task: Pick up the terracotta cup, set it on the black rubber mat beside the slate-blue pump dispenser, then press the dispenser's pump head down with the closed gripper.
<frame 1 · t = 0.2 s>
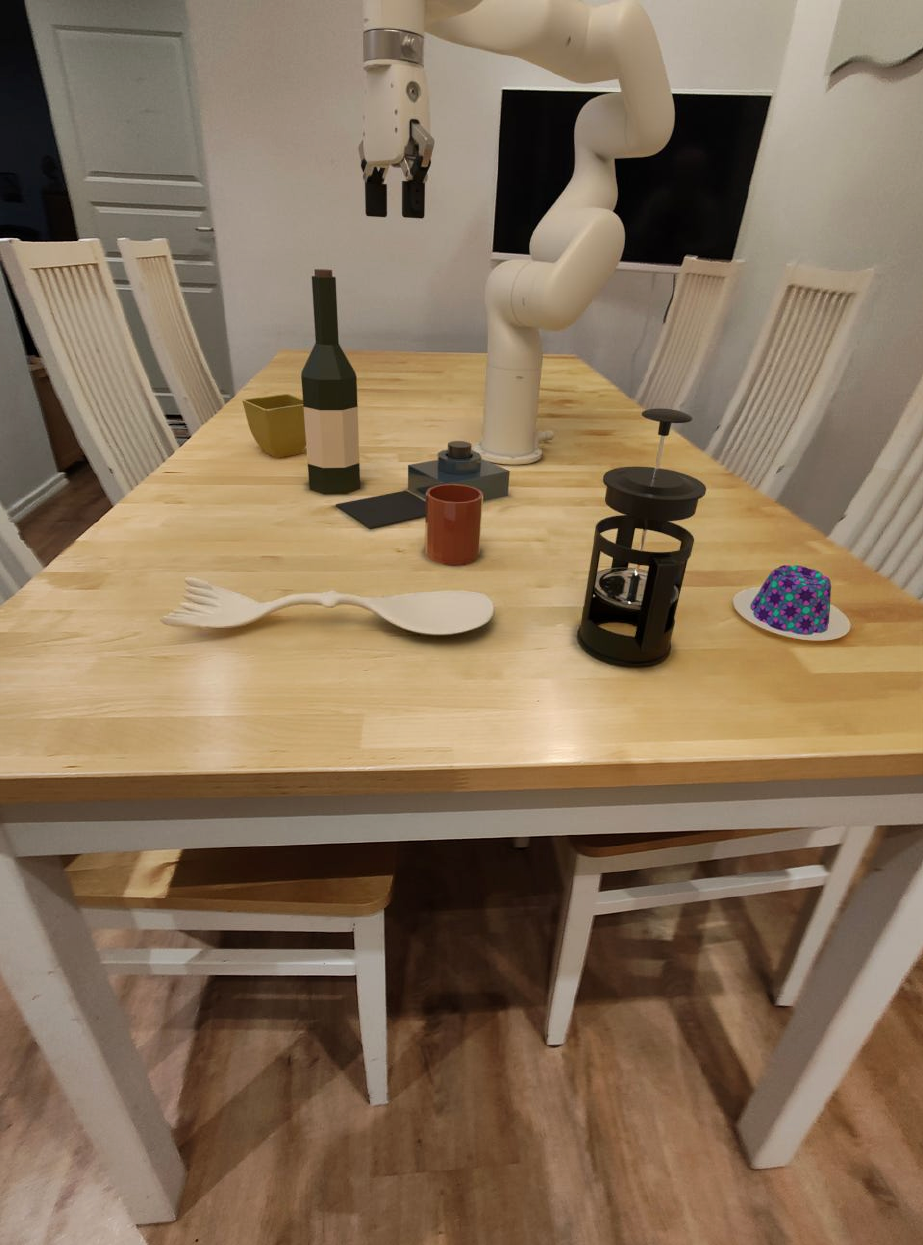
hand: (394, 217, 92), 37 cm above the table, tool pointing down, fingers open, 9 cm apart
purple patterned hat: (787, 619, 75), on the table
french press: (624, 646, 68), on the table
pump: (459, 450, 102), point 7 cm above the table, slide at 0.1 cm
cup: (452, 553, 85), on the table
dispenser: (457, 493, 105), on the table
spoon: (338, 625, 69), on the table
mat: (389, 510, 98), on the table
wine bottle: (334, 487, 106), on the table
flower pot: (282, 454, 119), on the table
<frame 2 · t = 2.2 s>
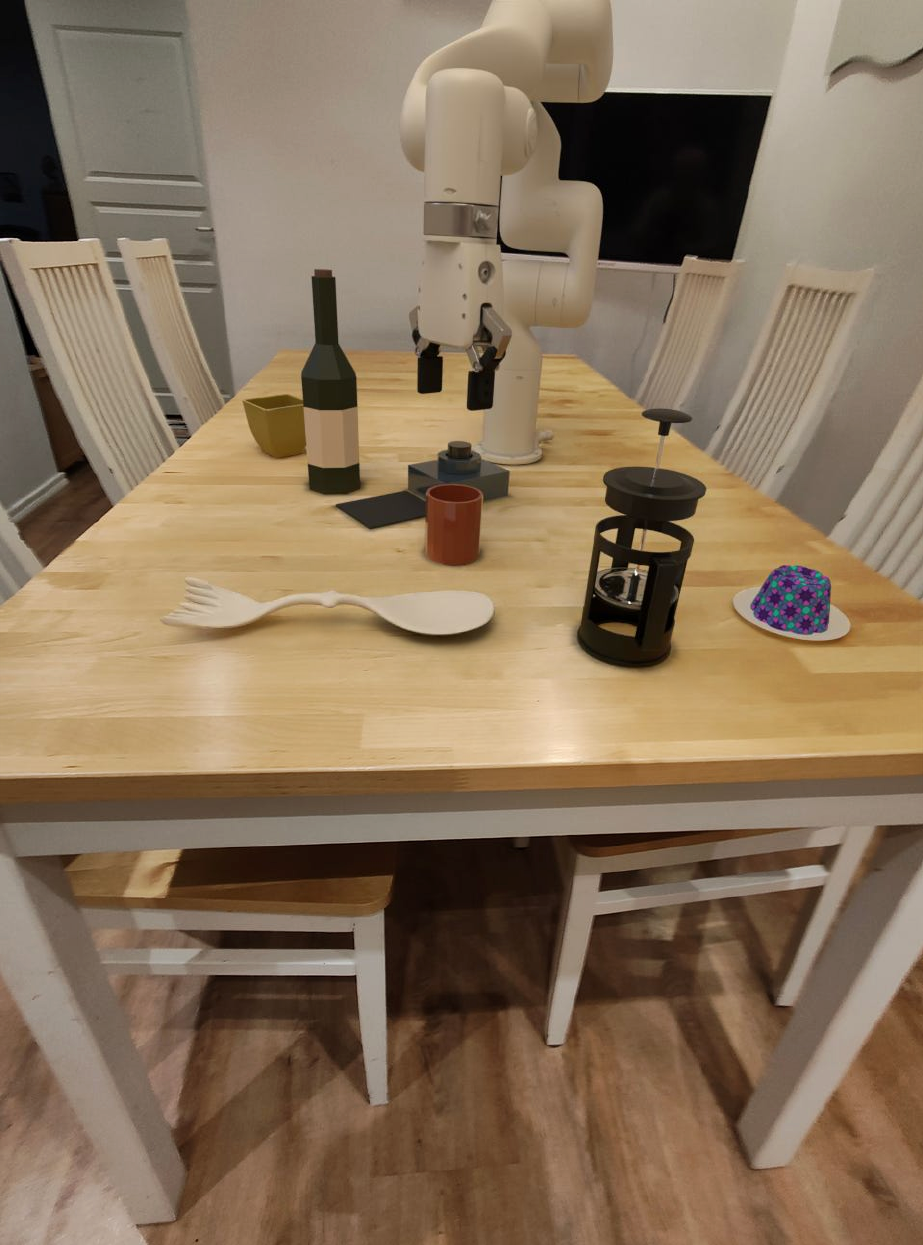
hand: (453, 400, 77), 19 cm above the table, tool pointing down, fingers open, 9 cm apart
nothing on the table moved.
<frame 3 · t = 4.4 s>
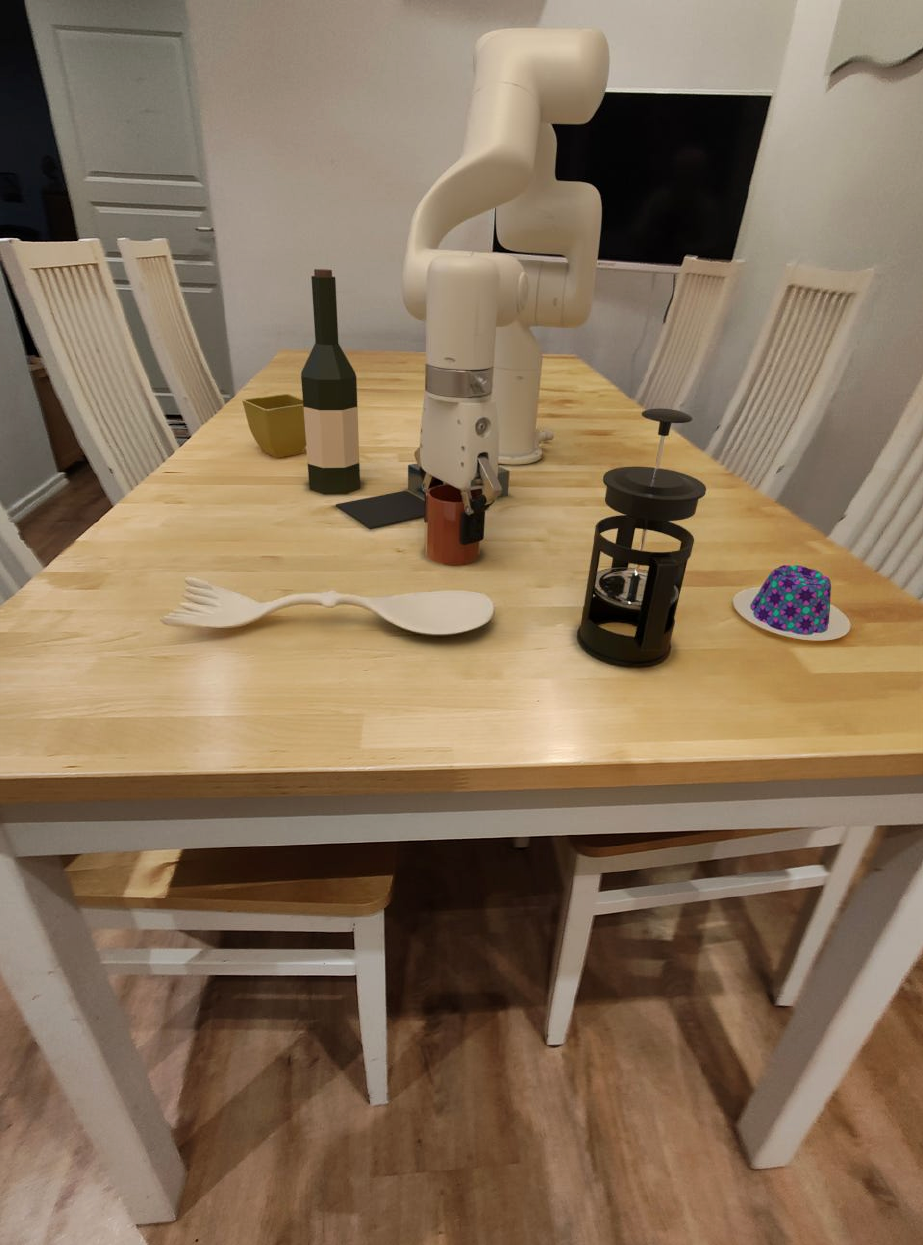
hand: (453, 530, 84), 3 cm above the table, tool pointing down, fingers closed on cup, 6 cm apart
cup: (452, 553, 85), on the table, touching gripper
everything else where it was.
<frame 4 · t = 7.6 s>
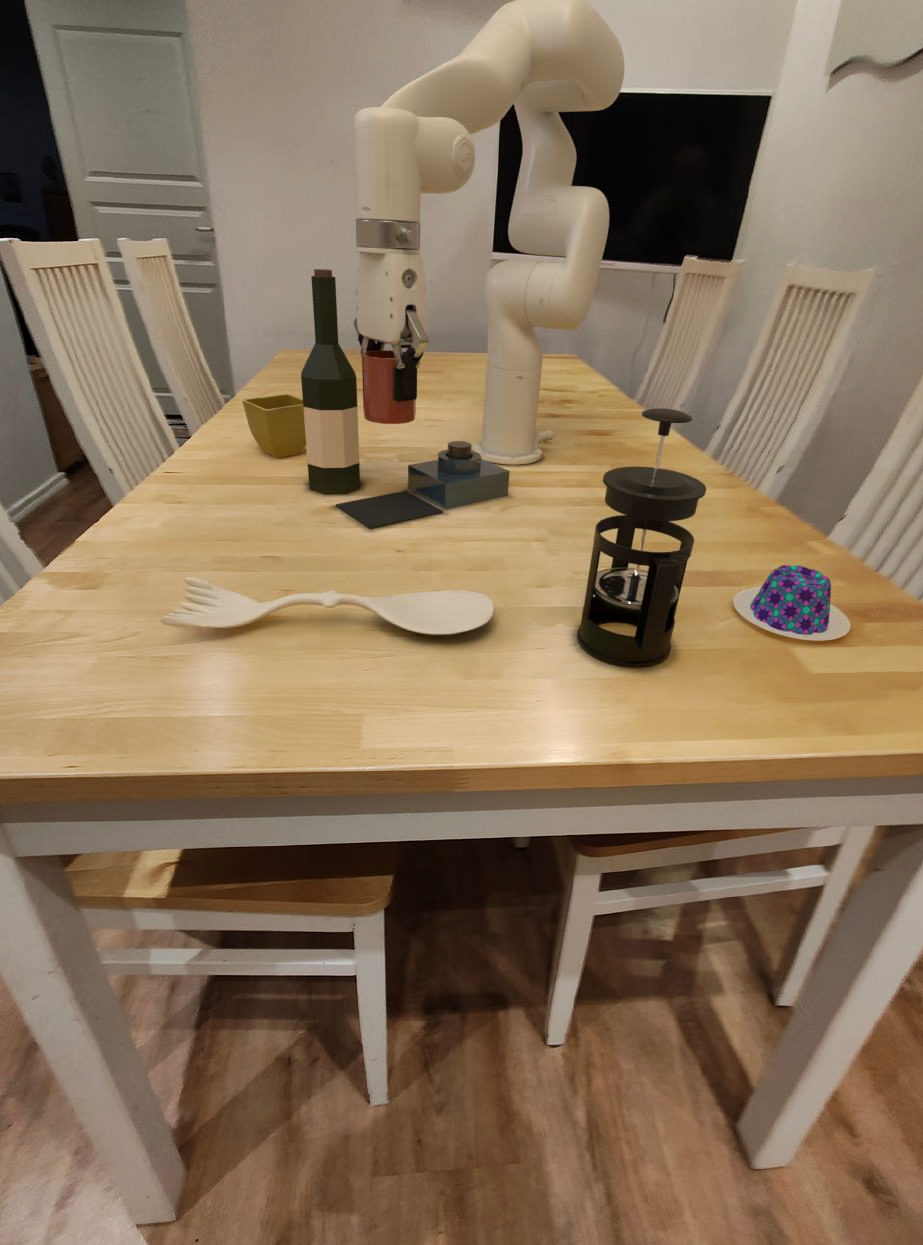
hand: (389, 393, 89), 16 cm above the table, tool pointing down, fingers closed on cup, 6 cm apart
cup: (389, 417, 90), point 13 cm above the table, touching gripper
everything else where it was.
when the fingers open (4 cm above the table, at t = 11.0 s): cup stays where it is, resting on mat.
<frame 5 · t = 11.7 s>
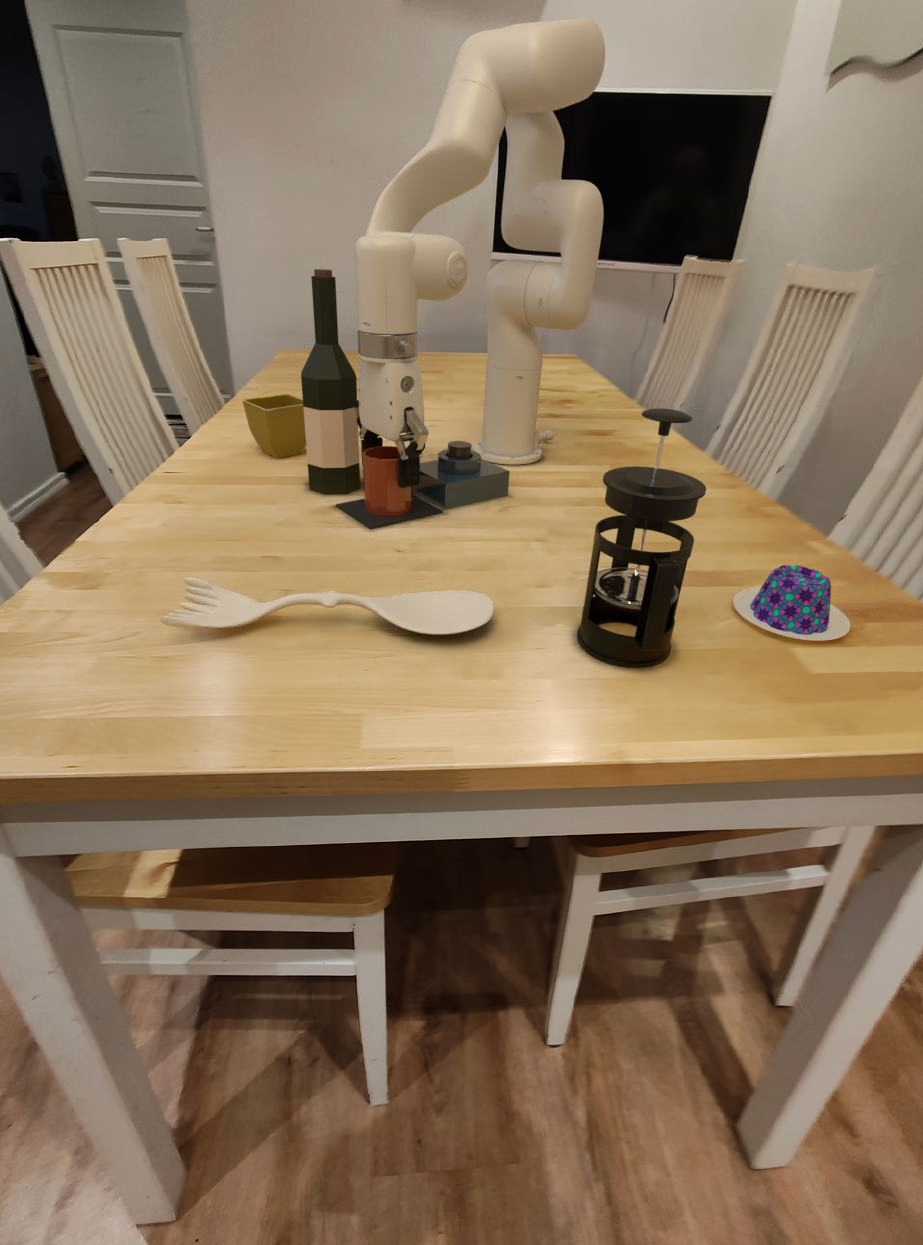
hand: (390, 475, 95), 5 cm above the table, tool pointing down, fingers open, 9 cm apart
cup: (388, 507, 97), resting on mat
everything else where it was.
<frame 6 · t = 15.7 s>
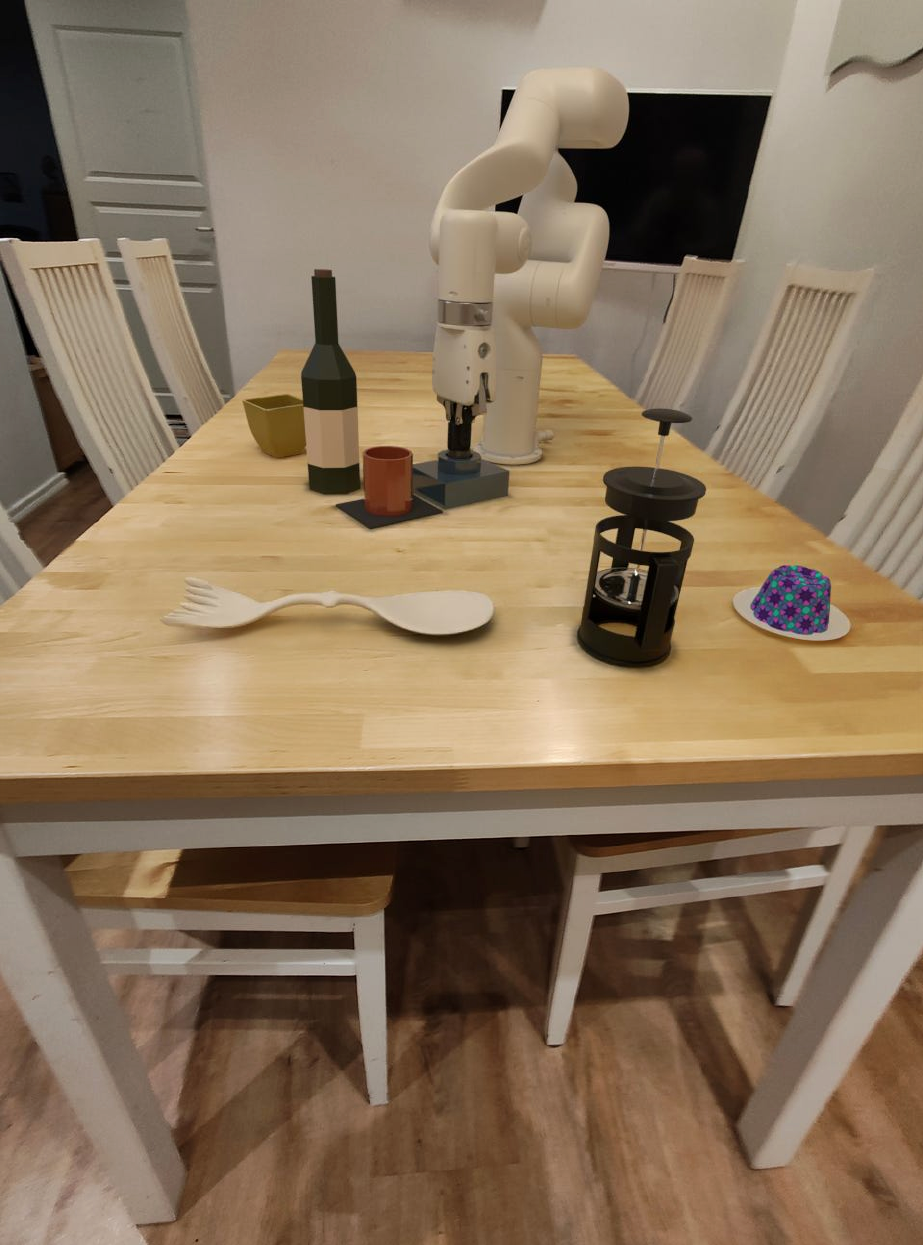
hand: (458, 448, 101), 7 cm above the table, tool pointing down, fingers closed
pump: (459, 455, 102), point 6 cm above the table, slide at -0.6 cm, touching gripper
everything else where it was.
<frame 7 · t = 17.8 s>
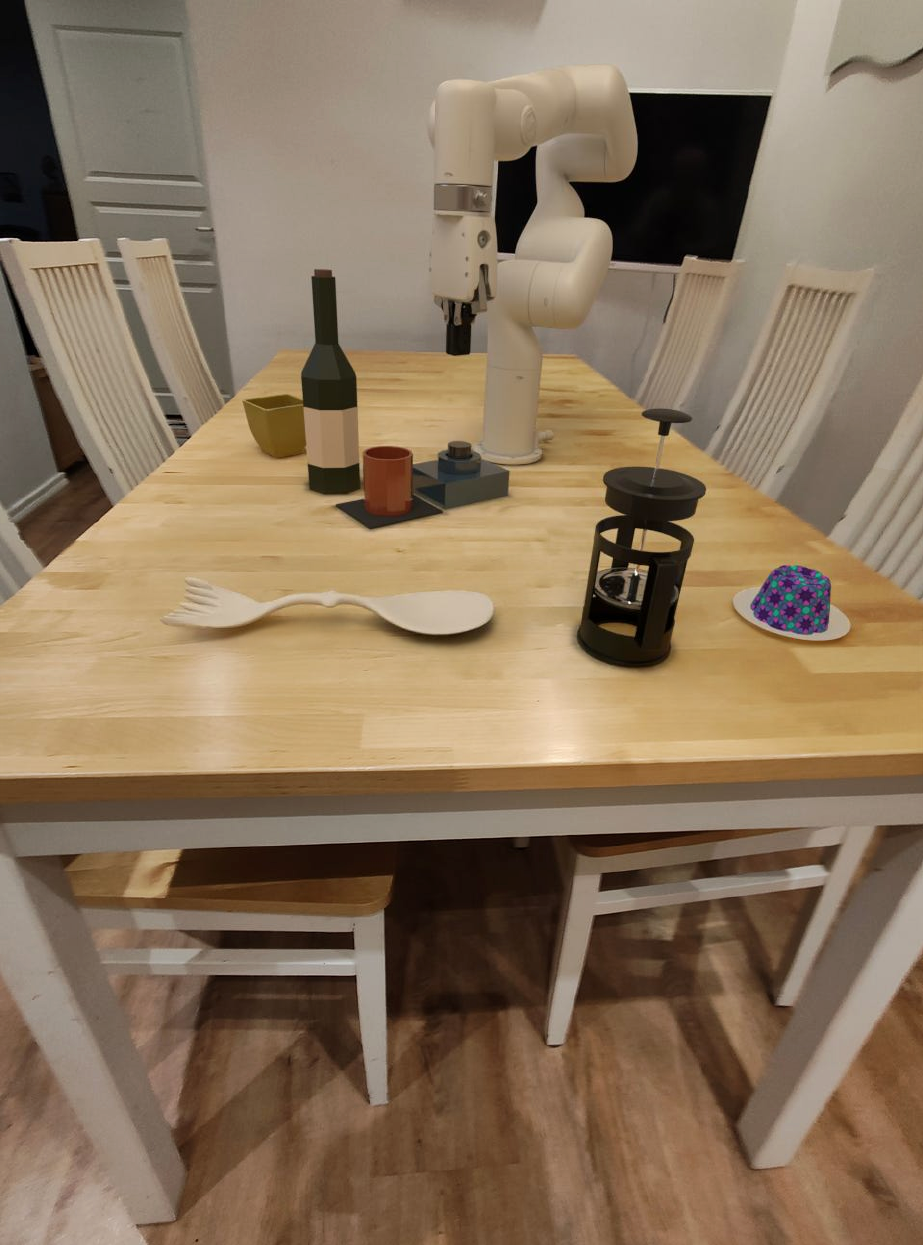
hand: (458, 354, 96), 20 cm above the table, tool pointing down, fingers closed
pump: (459, 450, 102), point 7 cm above the table, slide at 0.1 cm
everything else where it was.
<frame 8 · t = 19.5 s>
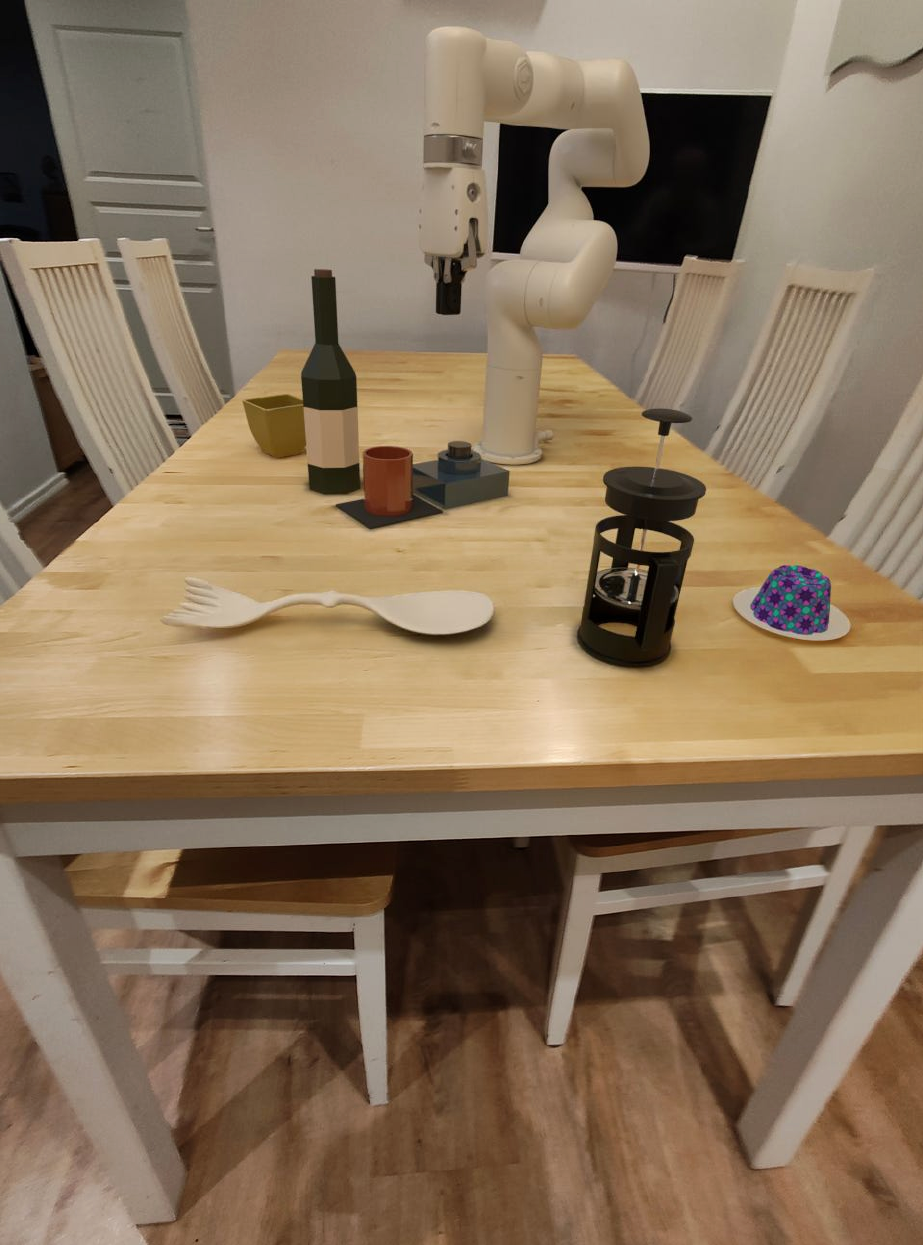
hand: (448, 313, 95), 25 cm above the table, tool pointing down, fingers closed
nothing on the table moved.
at the end: cup inside the target area on the mat (0.1 cm from its centre), point 0.4 cm above the mat's base; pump pushed in 1.3 cm at the most during the clip, back to where it started at the end; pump slide at 0.1 cm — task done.
